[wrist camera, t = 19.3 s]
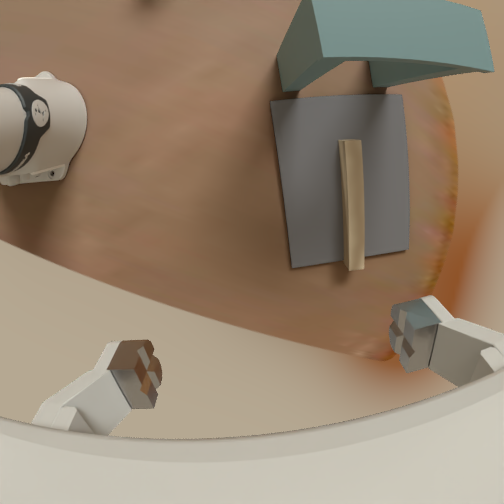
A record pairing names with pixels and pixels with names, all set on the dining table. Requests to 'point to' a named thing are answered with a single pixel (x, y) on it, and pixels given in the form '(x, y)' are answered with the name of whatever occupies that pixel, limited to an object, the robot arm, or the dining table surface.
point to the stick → (352, 202)
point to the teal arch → (383, 40)
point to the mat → (329, 172)
